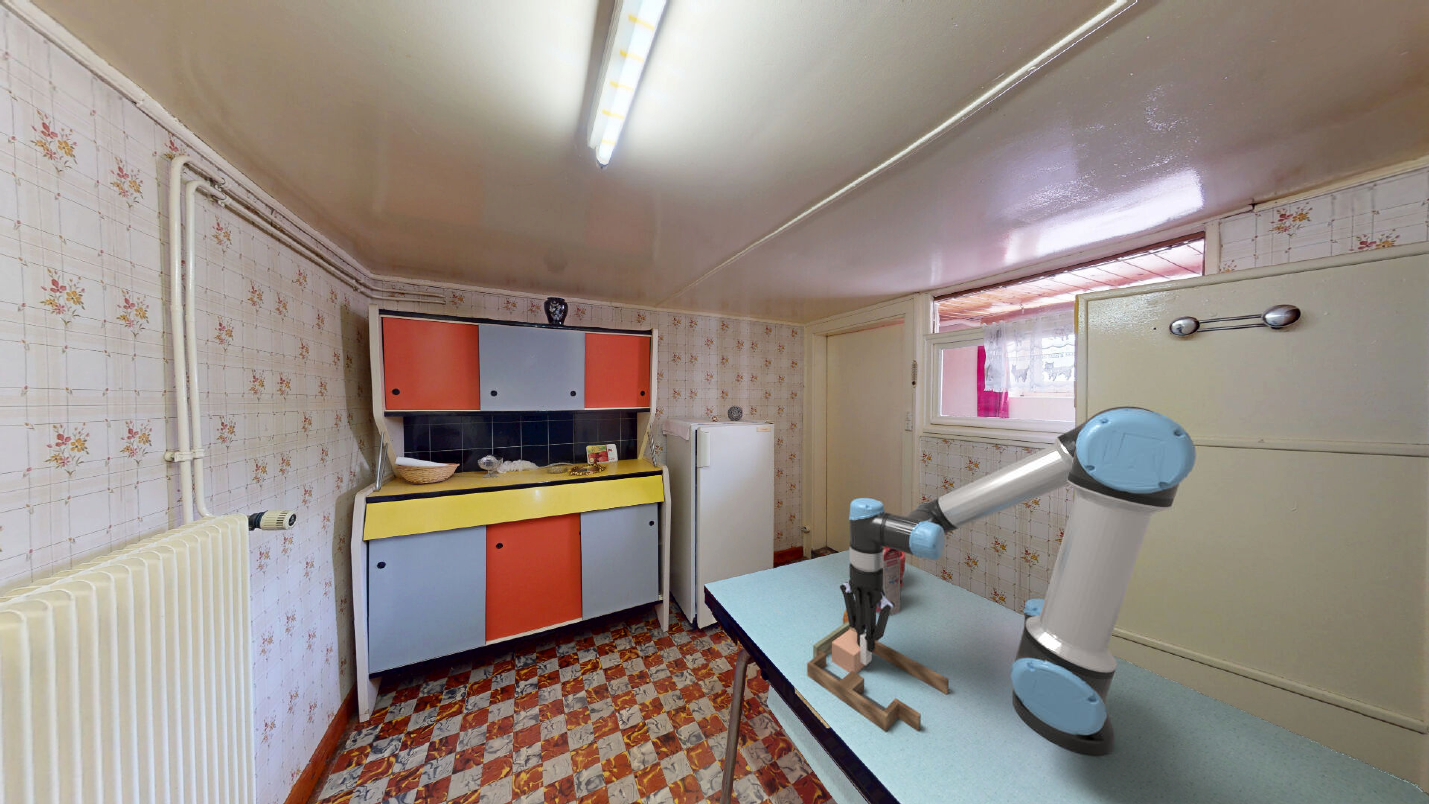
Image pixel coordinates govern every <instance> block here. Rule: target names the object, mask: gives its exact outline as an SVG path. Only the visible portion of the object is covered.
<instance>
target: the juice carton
mask: <svg viewBox="0 0 1429 804" xmlns="http://www.w3.org/2000/svg"><path fill="white" fill-rule="evenodd" d="M882 568H883V591H884V593H885V596H884V597H885V598H886V599H887V600H888V601H889V602H893V603H894V604H895V607H894V608H893V609H892V610H891V611H890V614H889V617H890V616H893V615H896V614H899V613H901V588H900V551H898V550H895V549H891V548H887V547H884V550H883V567H882ZM881 610H882V609H881V601H880V602H879V603H878V604H877V608H876V614H878V615H879V614H880V611H881Z"/></svg>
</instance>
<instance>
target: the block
mask: <svg viewBox="0 0 1429 804" xmlns="http://www.w3.org/2000/svg"><path fill="white" fill-rule="evenodd" d="M831 663H833V664H835V665H836V666H838V667H840V668H841V669H843V670H845V671H846V672H848V674H849V673H850V672H851V671H854V672H855V673H857V674H858V673H859V672H860V671H861V670H862V669H863V668H864V667H865V666H866V665H864V664H863V663H861V662H860V646H859V645H858V644H857V633H856V632H854V631H852V630H850V629H849V630H848V631H847V632H845V633H844V634H843V635H841V636H840V637H838V638H837V639H836V640H834V641H833V642H832V652H831Z"/></svg>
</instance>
